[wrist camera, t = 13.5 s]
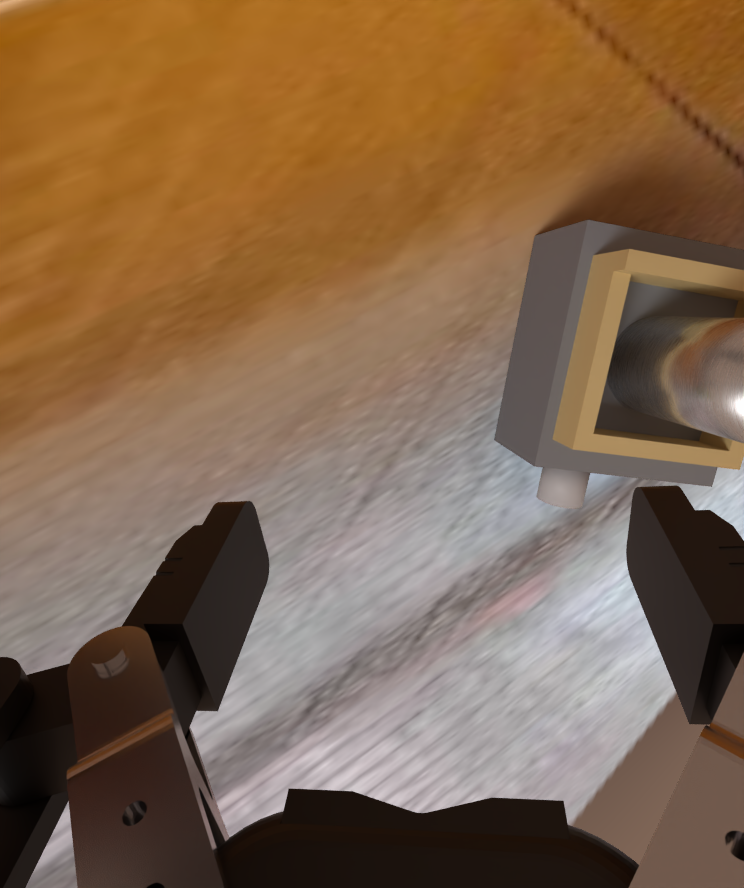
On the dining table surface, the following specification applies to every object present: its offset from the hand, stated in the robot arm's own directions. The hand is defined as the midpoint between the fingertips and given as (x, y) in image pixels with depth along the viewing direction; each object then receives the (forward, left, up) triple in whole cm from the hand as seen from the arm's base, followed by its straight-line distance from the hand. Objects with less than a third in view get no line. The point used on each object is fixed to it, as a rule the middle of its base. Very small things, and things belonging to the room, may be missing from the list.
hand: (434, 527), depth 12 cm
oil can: (-4, +17, -20) cm, 27 cm away
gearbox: (-3, +18, -27) cm, 32 cm away
